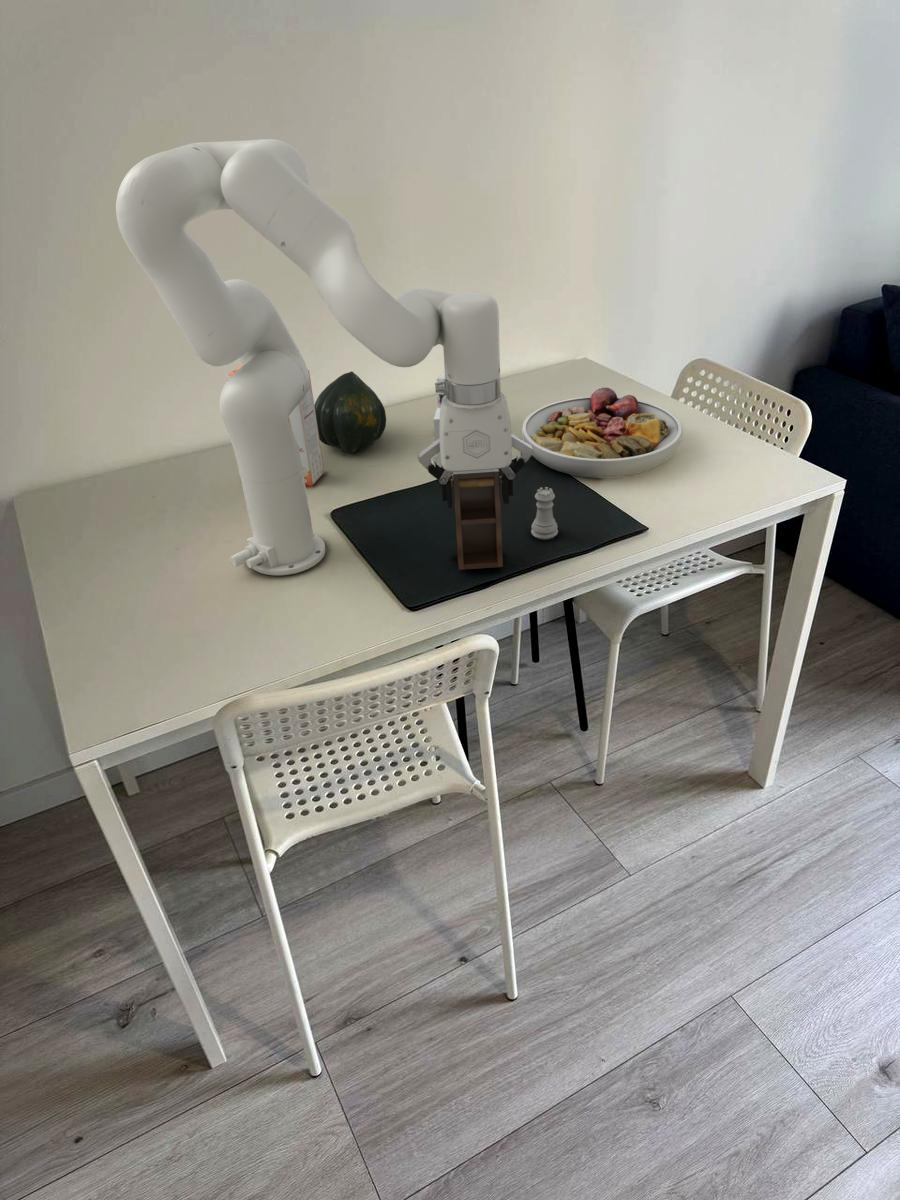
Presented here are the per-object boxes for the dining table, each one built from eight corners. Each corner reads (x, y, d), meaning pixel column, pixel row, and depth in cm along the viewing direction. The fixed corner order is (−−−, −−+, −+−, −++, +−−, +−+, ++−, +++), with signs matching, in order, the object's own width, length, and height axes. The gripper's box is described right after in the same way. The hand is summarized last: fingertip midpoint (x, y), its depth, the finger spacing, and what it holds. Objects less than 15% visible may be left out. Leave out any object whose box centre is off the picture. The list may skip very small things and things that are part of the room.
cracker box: (245, 481, 165) (223, 375, 153) (260, 467, 170) (240, 363, 158) (312, 488, 161) (295, 379, 149) (325, 473, 166) (309, 367, 154)
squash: (313, 443, 165) (355, 374, 162) (291, 419, 176) (329, 355, 174) (371, 475, 173) (411, 411, 170) (346, 451, 185) (383, 390, 182)
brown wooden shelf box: (449, 464, 132) (450, 474, 127) (498, 461, 133) (501, 471, 127) (454, 557, 138) (456, 570, 133) (502, 553, 138) (505, 566, 133)
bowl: (684, 487, 154) (689, 446, 149) (515, 483, 158) (515, 444, 154) (675, 419, 178) (678, 382, 173) (528, 418, 183) (528, 382, 178)
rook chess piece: (536, 542, 141) (536, 499, 136) (527, 529, 144) (527, 487, 140) (562, 537, 142) (563, 494, 137) (552, 525, 145) (552, 482, 141)
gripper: (410, 403, 116) (419, 518, 126) (540, 394, 116) (539, 510, 126) (409, 383, 122) (418, 494, 132) (532, 374, 122) (532, 486, 132)
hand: (477, 501), depth 129 cm, fingers closed on brown wooden shelf box, 7 cm apart
